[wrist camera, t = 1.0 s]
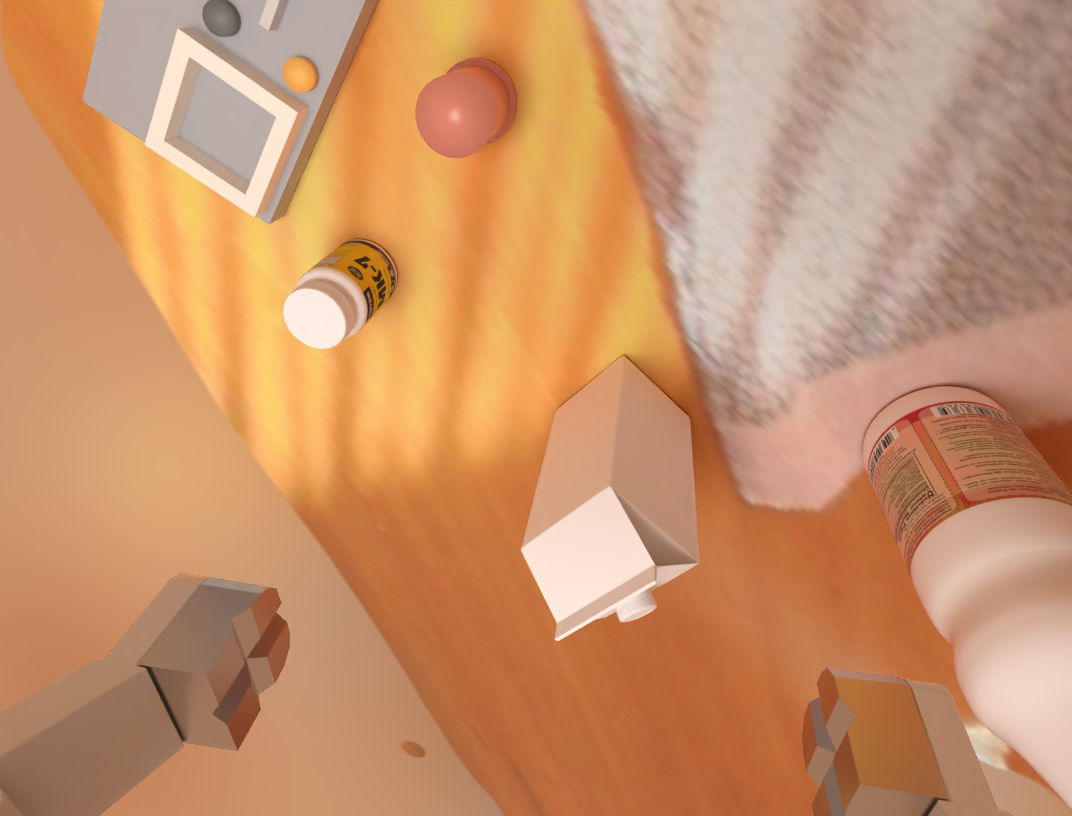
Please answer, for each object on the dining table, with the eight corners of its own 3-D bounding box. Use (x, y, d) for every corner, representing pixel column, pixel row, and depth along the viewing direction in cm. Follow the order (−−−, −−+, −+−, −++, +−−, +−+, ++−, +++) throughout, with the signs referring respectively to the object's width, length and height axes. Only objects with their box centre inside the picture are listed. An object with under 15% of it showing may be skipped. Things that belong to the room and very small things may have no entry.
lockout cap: (465, 40, 38) (435, 48, 33) (531, 90, 39) (512, 106, 34) (428, 111, 41) (395, 129, 36) (491, 157, 42) (467, 181, 37)
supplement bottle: (409, 292, 47) (365, 346, 40) (353, 309, 49) (301, 363, 42) (380, 228, 45) (328, 273, 38) (322, 247, 47) (261, 294, 40)
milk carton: (555, 409, 51) (506, 603, 35) (623, 352, 47) (604, 538, 31) (620, 466, 53) (602, 675, 37) (690, 416, 49) (704, 622, 33)
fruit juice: (980, 358, 43) (1353, 794, 20) (1026, 460, 47) (1391, 937, 23) (837, 418, 47) (1007, 842, 24) (888, 509, 51) (1082, 958, 27)
